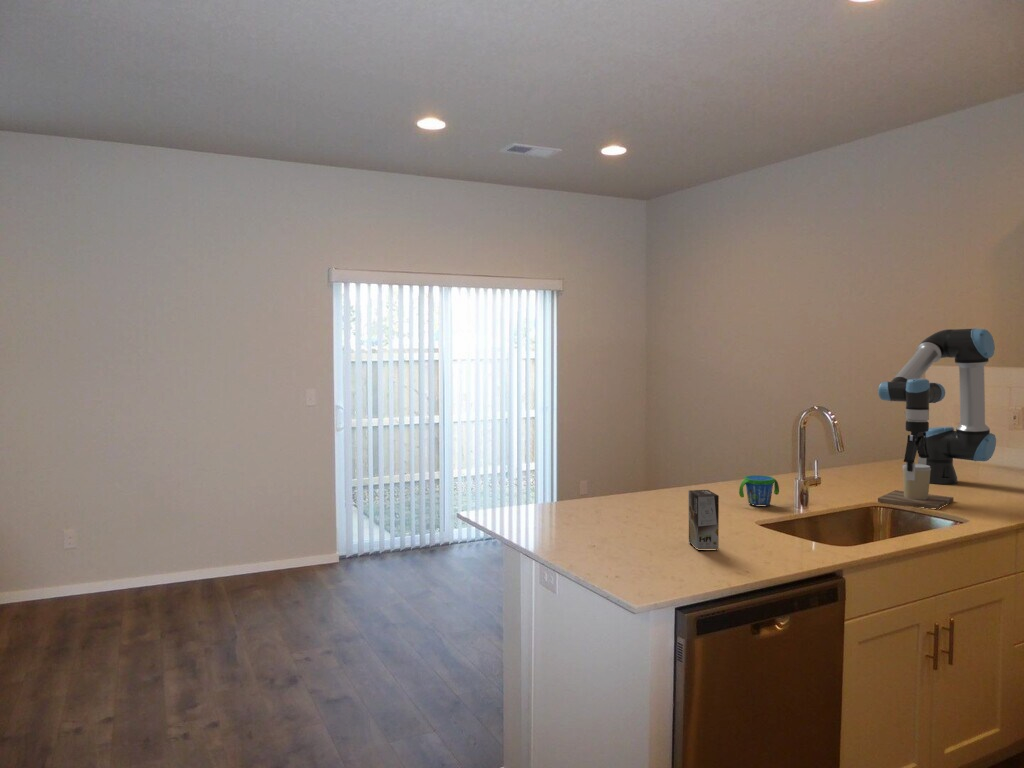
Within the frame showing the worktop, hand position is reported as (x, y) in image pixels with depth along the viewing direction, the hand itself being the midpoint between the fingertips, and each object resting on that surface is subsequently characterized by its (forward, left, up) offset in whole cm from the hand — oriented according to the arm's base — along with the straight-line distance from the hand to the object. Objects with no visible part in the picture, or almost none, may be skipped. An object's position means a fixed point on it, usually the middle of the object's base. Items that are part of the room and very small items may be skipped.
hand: (916, 477), depth 271 cm
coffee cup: (0, 0, -8) cm, 8 cm away
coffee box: (+108, -26, -9) cm, 112 cm away
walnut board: (0, 0, -9) cm, 9 cm away
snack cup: (+44, -40, -9) cm, 60 cm away
